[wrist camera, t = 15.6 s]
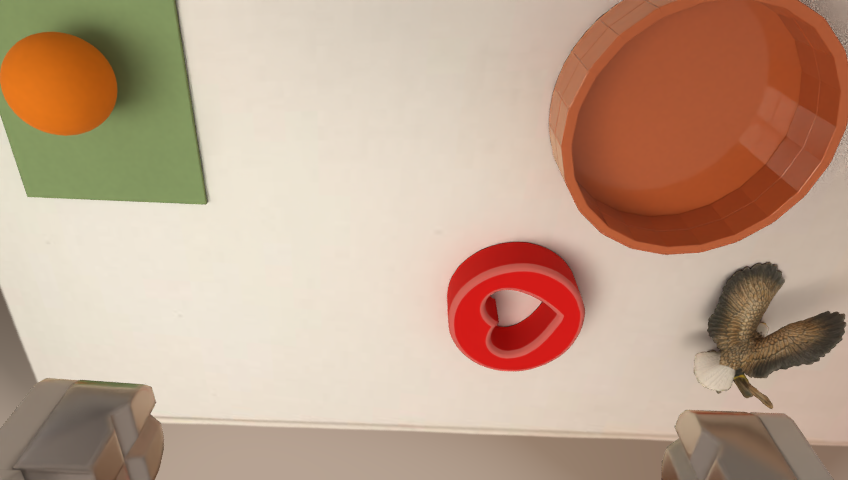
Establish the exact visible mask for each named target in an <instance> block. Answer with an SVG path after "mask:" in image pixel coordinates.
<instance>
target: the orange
mask: <svg viewBox="0 0 848 480" xmlns="http://www.w3.org/2000/svg"><path fill="white" fill-rule="evenodd" d="M0 84H1V89H2V92H3V95H4V97H5V100H6V101H7V103H8V105H9V106H10V108H11V109H12V110H13V111H14V113H15V114H16V115H17V116H18V117H19V118H20V119H22V120H23V121H24V122H26V123H27V124H29V125H30V126H32V127H34V128H36V129H38V130H41V131H43V132H46V133H49V134H55V135H63V136H68V135H78V134H82V133H85V132H88V131H91V130H93V129H94V128H96V127H98V126H99V125H101V124H102V123H103V122H104V121H105V120H106V119H107V118H108V117H109V115H110V114H111V112H112V110H113V109H114V106H115V103H116V99H117V82H116V77H115V74H114V71H113V69H112V67H111V65H110V64H109V62H108V61H107V59H106V58H105V57H104V55H103V54H102V53H101V52H100V51H99V50H98V49H96V48H95V47H94V46H93V45H91V44H90V43H88V42H86V41H85V40H83V39H81V38H78V37H76V36H73V35H70V34H66V33H61V32H41V33H36V34H33V35H30V36H27V37H25V38H23V39H22V40H20V41H18V42H17V43H16V44H15V45H14V46H13V47H12V48H11V49H10V50H9V51H8V52H7V54H6V56H5V58H4V60H3V62H2V65H1V70H0Z"/></svg>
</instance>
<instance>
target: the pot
mask: <svg viewBox="0 0 848 480" xmlns="http://www.w3.org/2000/svg"><path fill="white" fill-rule="evenodd" d="M847 122H848V61H847V56H846V51H845V49H844V47H843V46H842V44H841V43H840V41H839V40H838V38H837V37H836V35H835V33H834V32H833V30H832V29H831V27H830V26H829V24H828V23H827V21H826V19H824V17H822V16H821V15H819V14H818V13H816V12H815V11H813V10H812V9H811V8H809V7H808V6H806V5H805V4H803V3H802V2H800V1H799V0H623V1H621V2H620V3H618V4H617V5H615V6H614V7H613V8H611V9H610V10H609V11H608V12H606V13H605V14H604V15H603V16H601V17H600V18H599V19H598V20H597V21H596V22H595V23H594V24H593V25H592V26H591V27H590V28H589V29H588V30H587V31H586V33H585V34H584V35H583V36H582V38H581V39H580V40H579V41H578V43H577V44H576V45H575V47H574V48H573V50H572V51H571V53H570V55H569V56H568V58H567V60H566V61H565V63H564V65H563V68H562V70H561V72H560V74H559V76H558V79H557V82H556V85H555V88H554V91H553V95H552V100H551V106H550V114H549V132H550V141H551V145H552V150H553V156H554V159H555V161H556V163H557V165H558V167H559V170H560V172H561V174H562V176H563V179H564V181H565V183H566V185H567V187H568V189H569V191H570V193H571V195H572V197H573V200H574V202H575V204H576V206H577V208H578V210H579V211H580V213H581V214H582V215H583V216H584V217H585V218H586V219H587V220H588V221H589V222H590V223H591V224H592V225H593V226H594V227H595V228H596V229H597V230H598V231H599V232H600V233H602V234H603V235H605V236H607V237H609V238H611V239H613V240H615V241H617V242H619V243H621V244H623V245H625V246H627V247H629V248H632V249H637V250H642V251H647V252H653V253H658V254H665V255H669V254H684V253H700V252H704V251H708V250H711V249H715V248H718V247H721V246H725V245H728V244H732V243H735V242H737V241H740V240H742V239H744V238H746V237H747V236H749V235H751V234H753V233H755V232H757V231H759V230H760V229H762V228H764V227H766V226H768V225H770V224H772V223H773V222H775V221H776V220H777V219H778V218H779V217H781V216H782V215H783V214H784V213H785V212H787V211H788V210H789V209H790V208H791V207H793V206H794V205H795V204H796V203H797V202H799V201H800V200H801V199H802V198H803V197H804V196H805V195H806V194H807V193H808V192H809V190H810V189H811V188H812V186H813V185H814V184H815V182H816V181H817V180H818V179H819V177H820V176H821V175H822V173H823V172H824V171H825V170H826V168H827V167H828V166H829V164H830V163H831V161H832V158H833V156H834V154H835V152H836V149H837V147H838V145H839V143H840V141H841V138H842V136H843V134H844V132H845V129H846V126H847Z"/></svg>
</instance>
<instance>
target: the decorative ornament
mask: <svg viewBox="0 0 848 480" xmlns="http://www.w3.org/2000/svg"><path fill="white" fill-rule="evenodd" d="M501 290H515V291H520V292H523V293H526V294H529V295H531V296H533V297H535V298H537V299H539V300H540V301H542V303H541V304H540V306H539V307H538V308H537V309H536V310H535V311H534V312H533V313H532V314H531V315H530V316H529V317H528V318H526V319H525V320H523V321H522V322H520V323H518V324H516V325H513V326H509V327H499V326H496V325H497V324H498V323H499V320H498V314H497V307H496V301H495V299H493V298H492V297H490V295H492V294H493V293H495V292H497V291H501ZM447 303H448V323H449V331H450V334H451V337H452V339H453V341H454V343H455V344H456V346H457V347H458V348H459V350H460V351H461V352H462V353H463V354H464V355H465V356H467V357H468V358H469V359H471V360H472V361H474V362H476V363H477V364H479V365H482V366H484V367H487V368H490V369H495V370H500V371H523V370H529V369H533V368H536V367H539V366H542V365H544V364H547V363H549V362H551V361H553V360H554V359H556V358H558V357H559V356H561V355H562V354H563V353H564V352H566V351H567V350H568V349H569V347H570V346H571V345H572V344H573V343H574V341H575V340H576V338H577V336H578V335H579V333H580V331H581V328H582V325H583V322H584V316H585V308H584V304H583V301H582V297H581V295H580V292H579V289H578V286H577V284H576V281H575V278H574V276H573V273H572V271H571V269H570V268H569V266H568V265H567V263H566V262H565V261H564V260H563V259H562V258H561V257H560V256H558V255H557V254H556V253H554V252H552V251H551V250H549V249H547V248H544V247H542V246H539V245H536V244H532V243H526V242H509V243H502V244H498V245H494V246H490V247H488V248H485V249H483V250H481V251H479V252H477V253H475V254H474V255H472V256H471V257H469V258H468V259H467V260H465V261H464V262H463V263H462V264H461V265H460V266H459V267H458V268H457V270H456V271H455V273H454V274H453V276H452V278H451V280H450V283H449V287H448V293H447Z"/></svg>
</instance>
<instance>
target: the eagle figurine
mask: <svg viewBox="0 0 848 480" xmlns="http://www.w3.org/2000/svg"><path fill="white" fill-rule="evenodd" d="M777 269H778V267H777V265H771V263H770V262H767V263H765V264H764V265H761V264H756V265H754V266H753V267H752V268H751V269H749V267H745V268H744V270H743V271H742V272H741V271H738V272H736V273H735V274H734V275H733V276H732V277H731V279H729V280H728V281H727V284H726V285H725V286H724V287H723V293H722V295H721V297H720V298H719V302H720V303H719V304H718V305H717V308H716V309H715V314H712V315H711V317H710V318H709V322H708V330H707V331H708V332H709V336H710V337H712V338H713V341H714V342H715V343H717V348H718V349H720V350H719V351H718V352H716V351H714V350H712V351H708V352H701V353H697V355H696V357H695V360H694V374H695V375H696V377H697V380H698V382H699V383H700V384H702V386H703V387H705V388H708V389H711V390H715V391H716V392H717V393H718V394H719V393H721V391H727V390H729V389H730V388H731V385H732V382H733V381H734V382H735V384H736V385H737V387H738V388H739V390H740V392H741V393H742V395H743V396H744V397H745V398H749V397H752V396H753V395H754V396H755V397H757V398H758V399H759V400H760V401H761V402H762V403H763V404H765V405H766V406H767V407H769V408H770V409H772V408H773V405H772V403H771V401H770V400H769V399H768V397H767V396H765V395H764V394H762V393H761V392H759V391H758V390H757V389H756V388H755V387H753V386H752V385H751V384H750V383H749V381H748V379H747V378H746V376H745V375H744V373H745V374H746V375H748V376H749V377H751V378H752V377H754V378H767V377H768V375H769V374H771V373H772V372H773V371H777V370H779V369H788V368H789V367H792V366H800V365H801V364H806V365H810V364H813V363H814V362H817V361H819V360H820V358H819V357H824V356H825V354H826V353H829V352H830V351H831V349H832V348H834V347H835V346H836V344H837V343H839V342H840V341H841V340H842V335H843V334H844V333H845V330H844V328H845V326H846V322H844V319H845V314H839V312H834V313H831V314H830V312H829V311H827V312H824V313H821V314H819V315H816V316H814V317H811V318H808V319H806V320H803V321H798V322H795V323H791V324H788V325H786V326H784V327H782V328H780V329H779V330H777V331H776V332H774V333H772V334H770V335H768V336H767V333H768V331H769V328H768V326H767V325H766V324H765V323H759V322H760V320H761V318H762V316H763V314H764V313H765V311H766V309H767V308H768V306H769V304H770V302H771V300H772V298H773V297H774V296H775V294H776V293H777V291H778V290H779V289H780V288H781V287H782V285H783V284H784V282H785V281H784V279H783V278H782V272H781V271H777Z"/></svg>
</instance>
